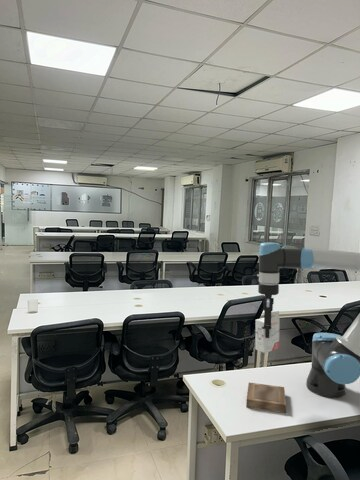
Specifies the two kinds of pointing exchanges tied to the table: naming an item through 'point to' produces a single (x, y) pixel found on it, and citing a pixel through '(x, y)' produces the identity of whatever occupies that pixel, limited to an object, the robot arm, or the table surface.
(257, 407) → the walnut base
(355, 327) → the robot arm
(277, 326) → the ink cartridge box
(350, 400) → the table surface
